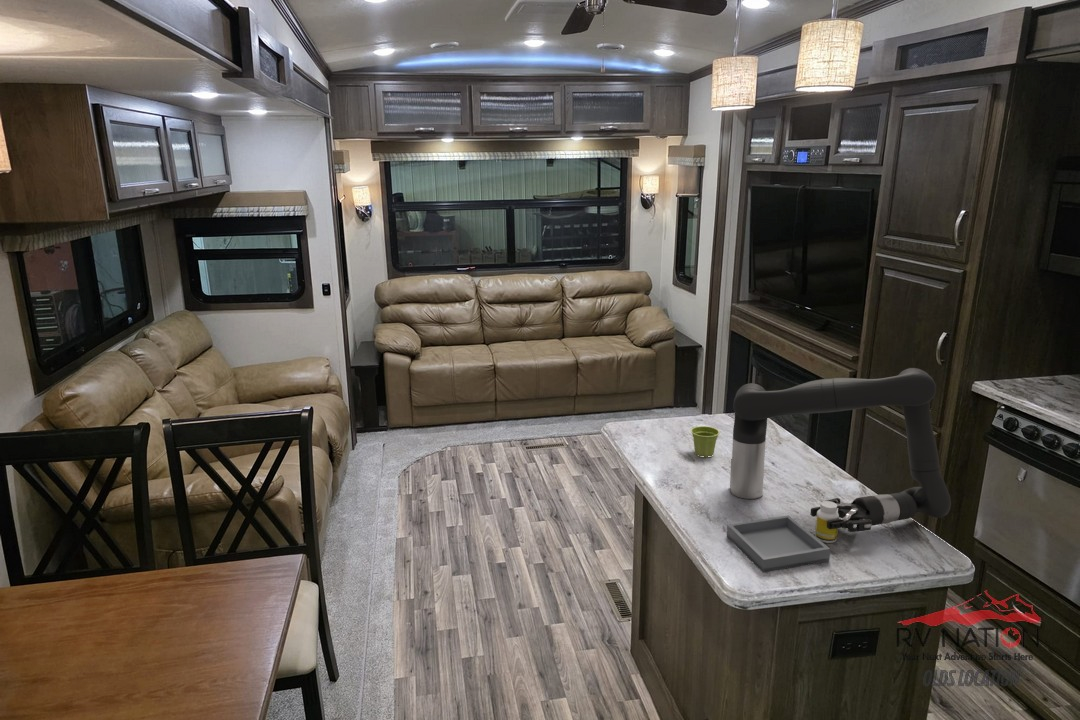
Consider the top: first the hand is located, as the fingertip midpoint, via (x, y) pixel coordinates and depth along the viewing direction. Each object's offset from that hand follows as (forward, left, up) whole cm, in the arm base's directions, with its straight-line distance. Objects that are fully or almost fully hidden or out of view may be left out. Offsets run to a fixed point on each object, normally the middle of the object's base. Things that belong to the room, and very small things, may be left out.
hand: (819, 518), depth 180 cm
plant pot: (-60, -3, -6) cm, 60 cm away
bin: (+1, -13, -6) cm, 14 cm away
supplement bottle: (0, +2, -6) cm, 7 cm away
